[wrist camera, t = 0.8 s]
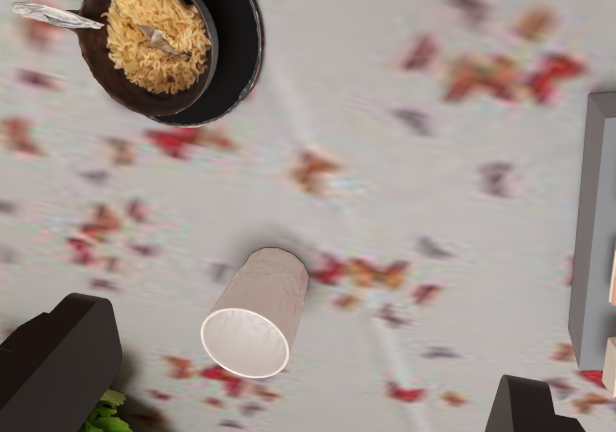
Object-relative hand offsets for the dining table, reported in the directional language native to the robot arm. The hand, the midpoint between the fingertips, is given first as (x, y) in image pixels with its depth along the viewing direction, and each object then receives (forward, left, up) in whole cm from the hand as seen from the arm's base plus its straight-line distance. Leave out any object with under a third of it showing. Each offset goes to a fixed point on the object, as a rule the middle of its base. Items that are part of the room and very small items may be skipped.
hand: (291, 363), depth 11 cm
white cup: (+15, +22, -34) cm, 43 cm away
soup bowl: (+19, -2, -34) cm, 39 cm away
